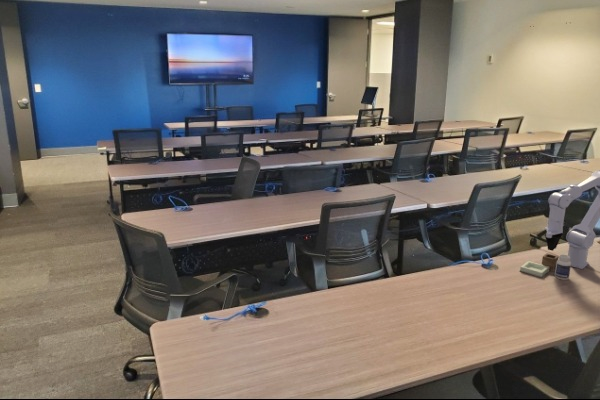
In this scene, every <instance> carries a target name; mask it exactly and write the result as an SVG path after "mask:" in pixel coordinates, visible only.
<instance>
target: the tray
mask: <svg viewBox="0 0 600 400" xmlns="http://www.w3.org/2000/svg"><path fill="white" fill-rule="evenodd" d="M519 272H521V273H524V274H529V275H532V276H534V277H537V278H538V277H539V278H543V277H544V276H545V275H547V273H549V272H550V271H549V266H545V265H542V263H537V262H534V261H530V260H528V261H526V262H525V263H523V264H522V265H521V266H520V269H519Z"/></svg>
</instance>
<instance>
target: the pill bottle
mask: <svg viewBox="0 0 600 400" xmlns="http://www.w3.org/2000/svg"><path fill="white" fill-rule="evenodd" d="M558 256H559V258H558V260H557V263H556V269H555V271H554V277H555V278H556V279H558V280H563V281H565V280H569V278H570V272H571V267H572V266H571V262H570V257H569V256H568V254H560V255H558Z"/></svg>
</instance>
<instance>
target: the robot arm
mask: <svg viewBox="0 0 600 400" xmlns="http://www.w3.org/2000/svg"><path fill="white" fill-rule="evenodd" d="M592 188H595V190H596V191H597V193H598V194H597V196H596V197H595V199H594V200H593V202H592V204H591V205H590V207H589V209H588V210H587V212H586V213H585V216H584V217H583V219H582V221H581V222H580V223H579V224H576V225H574V226H572V228H571V229H570V230H569V231H568V232H567V234H566V237H565V240H566V241H567V244H568V250H567V251H568V252H567V256H569V257H570V262H571V267H573V268H577V269H581V270H583V269H584V268H586V266H587V265H589V263H590V261H588V256H589V255H588V254H589V249H590V248H591V247H592V246H593V245H594V243H595V242H594V241H595V238H596V237H597V235H596V232H595V231H594V228H595V227H596V225H597V223H598V222H599V221H600V169H597V170H595V171H594V172H592V173H591V175H590V176H589V177H588V178H586V179H584V180H583V181H582V182H580V183H579V184H570V185H569V186H568V187H566V188H565V189H562V190H561V191H558V192H553V193H551V194H550V195H549V197H548V199H547V201H548V204H549V215H548V220H547V226H545V227H544V228H543V229H544V230H546V233H545V234H544V238H545V240H546V245H547V250H548V251H554V249H555V250H556V248H557V247H558V245H559V242H560V241H561V238H562V237H563V236H564V233H563V227H564V223H565V221H564V220H565V214H566V208H568V207H569V206H570V204H572V202H573V201H574V200H576V199H578V198H579V197H580V198H581V196H582V195H583V192H585V191H588V190H590V189H592Z"/></svg>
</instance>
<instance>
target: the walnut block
mask: <svg viewBox="0 0 600 400" xmlns="http://www.w3.org/2000/svg"><path fill="white" fill-rule="evenodd" d="M559 256H560V255H555V254H551V253H548V252H547V253H545V254H544V255H543V256H542V259H541V260H542V261H541V264H542V265H545V266H549V272H552V273H554V272H555V269H556V263H557V260H559Z"/></svg>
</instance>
